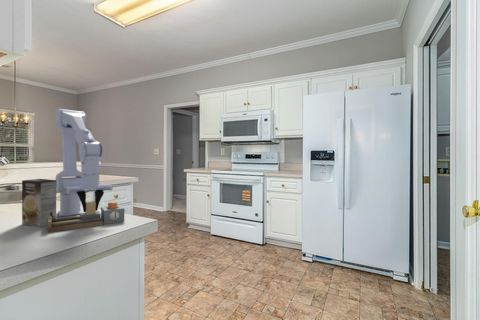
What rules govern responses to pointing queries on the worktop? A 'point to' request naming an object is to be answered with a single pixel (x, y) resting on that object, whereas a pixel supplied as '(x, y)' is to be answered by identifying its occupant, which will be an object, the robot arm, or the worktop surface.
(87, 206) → the carriage
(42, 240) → the worktop surface
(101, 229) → the worktop surface
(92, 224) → the track
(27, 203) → the coffee box
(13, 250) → the worktop surface
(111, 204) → the button
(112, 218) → the end cabinet
